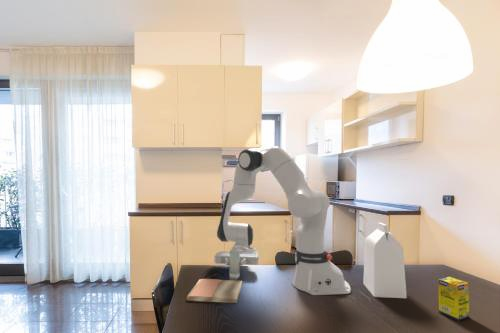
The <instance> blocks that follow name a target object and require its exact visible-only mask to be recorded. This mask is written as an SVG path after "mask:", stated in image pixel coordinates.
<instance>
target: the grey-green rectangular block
mask: <svg viewBox="0 0 500 333" xmlns="http://www.w3.org/2000/svg"><path fill="white" fill-rule="evenodd" d="M230 250H231V249H230ZM230 250H229V252H230V265H229V267H228V268H229V279H228V280H233V281H241V280H240V277H241V276H240V274H241V273H240V269H241V268H240V267H241V266H239V261H240V251H238V250H231V251H230Z"/></svg>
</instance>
